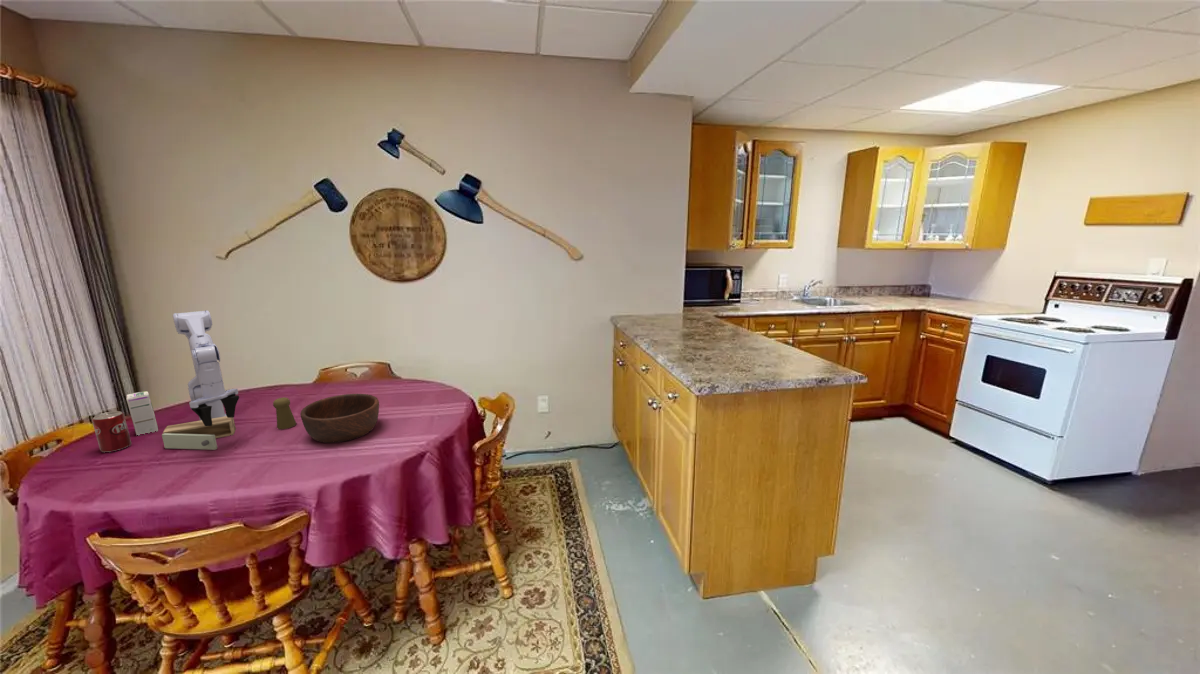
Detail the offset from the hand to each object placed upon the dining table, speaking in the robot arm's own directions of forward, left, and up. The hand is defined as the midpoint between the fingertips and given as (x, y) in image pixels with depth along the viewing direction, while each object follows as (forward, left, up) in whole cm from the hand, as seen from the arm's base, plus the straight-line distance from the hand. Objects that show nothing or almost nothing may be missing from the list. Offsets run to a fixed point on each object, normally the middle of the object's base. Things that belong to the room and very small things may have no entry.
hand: (220, 421), depth 150 cm
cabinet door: (-5, -10, -10) cm, 15 cm away
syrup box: (-31, -26, -10) cm, 42 cm away
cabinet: (-14, -8, -10) cm, 19 cm away
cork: (-10, +17, -10) cm, 22 cm away
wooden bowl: (+6, +35, -10) cm, 37 cm away
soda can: (-19, -31, -10) cm, 38 cm away
